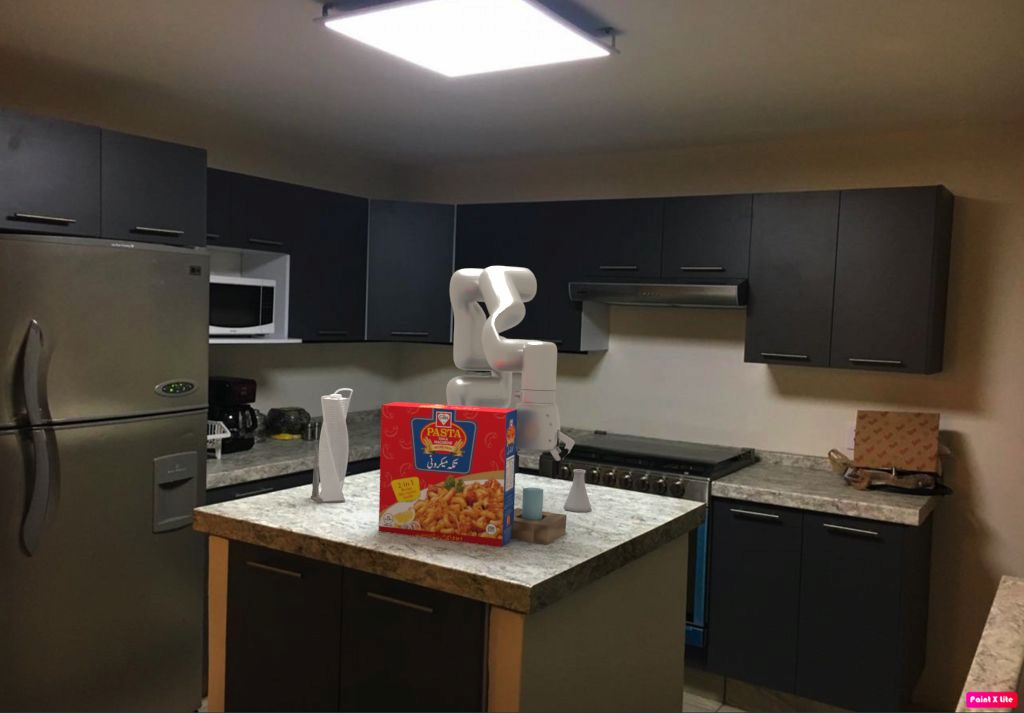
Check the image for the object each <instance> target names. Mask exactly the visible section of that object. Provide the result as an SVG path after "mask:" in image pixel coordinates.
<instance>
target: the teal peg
mask: <svg viewBox="0 0 1024 713" xmlns="http://www.w3.org/2000/svg"><path fill="white" fill-rule="evenodd" d="M543 505H544V489H543V488H539V487H524V488H523V489H522V504H521V506H522V507H521V509H522V518H523V519H530V520H537V521H540V520H542V511H543V509H544V508H543Z"/></svg>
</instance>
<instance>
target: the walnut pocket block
mask: <svg viewBox="0 0 1024 713" xmlns="http://www.w3.org/2000/svg"><path fill="white" fill-rule="evenodd" d="M566 530H567V514H563V513H556V512H550V511H543V510H542V520H540V521H537V520H530V519H523V518H522V507H521V508H520V507H516V508H514V520H513V524H512V540H516V541H521V542H527V543H535V544H540V545H541V544H542V545H549V544H551V543H552V542H554V541H556V540H557V539H558V538H559V537H561V536H562V535H564V534H565V533H567V532H566Z"/></svg>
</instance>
